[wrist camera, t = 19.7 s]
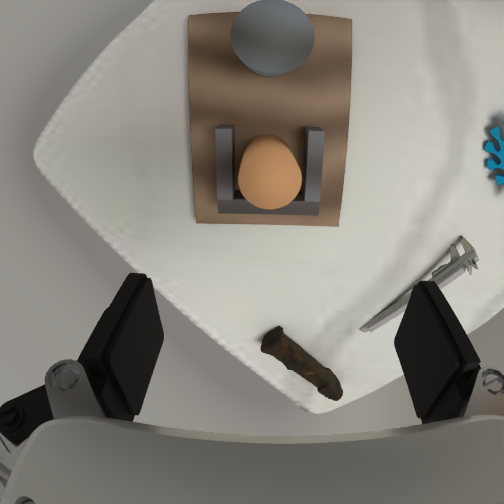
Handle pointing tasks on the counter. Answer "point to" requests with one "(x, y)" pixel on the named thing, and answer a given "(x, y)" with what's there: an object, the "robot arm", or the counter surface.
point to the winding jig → (269, 107)
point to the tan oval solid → (269, 173)
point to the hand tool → (301, 363)
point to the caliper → (440, 276)
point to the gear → (491, 164)
